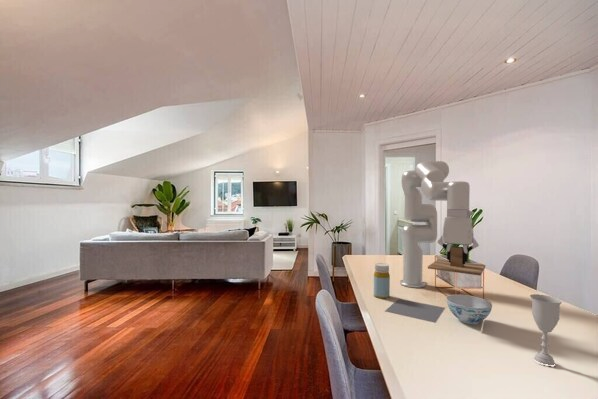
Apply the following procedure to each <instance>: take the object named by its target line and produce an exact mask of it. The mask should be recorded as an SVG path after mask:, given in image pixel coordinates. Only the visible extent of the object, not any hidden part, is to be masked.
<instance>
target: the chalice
mask: <svg viewBox="0 0 598 399" xmlns="http://www.w3.org/2000/svg"><path fill="white" fill-rule="evenodd" d="M529 297H530V299H531V300H532V302H531V303H532V304H531V305H532V306H531V307H532V308H531V315H532V318H533V320H534V322H535V324H536V326H537V328H538V330H539V331H541V332H542V336H541V339H542V343H541V344H540V345H541V346H542V350H541V351H539V352H537V353H536V354H535V355H534V357H533V359H535V360H536V361H538V362H540V363H543V364H548V365H554V364H556V363H555V360H554V358H553V356H552V355H551V354H550V353H549V352H548V348H549V344H548V341H549V337H548V333H552V332H553V331H554V329H555V327H556V326H557V325H558V322H559V320H560V308H561V307H560V305H561V304H562V303H563V301H562V299H560V298H558V297H555V296H550V295H545V294H530V295H529Z"/></svg>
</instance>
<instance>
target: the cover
mask: <svg viewBox="0 0 598 399" xmlns="http://www.w3.org/2000/svg"><path fill="white" fill-rule="evenodd" d="M463 252H464V249H463V246H458V245H457V246H455V245H452V247H451V250H450V262H449V260H445V259H436V260H435V261H433V262H432V263H430V264H429V265H427V269H429V270H435V271H436V270H437V271H444V272H451V273H459V274H465V275H472V276H478V277H479V276H482V274H483V272H484V270H485V268H486V264H481V263H480V264H479V263H471V262H466V263H465V264H463V263H462V261H463Z"/></svg>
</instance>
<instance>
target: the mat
mask: <svg viewBox="0 0 598 399" xmlns="http://www.w3.org/2000/svg"><path fill="white" fill-rule="evenodd" d="M445 309H446V307H443V306H438V305H433V304H427V303H423V302H418V301H413V300H408V299H404V298H403V299H402V298H398V299H397V300H396V301H395V302H393V303H392V304H391V305H390V306H389V307H388V308H386V309H385V310H384V312H385V313H386V312H387V313H390V314H395V315H399V316H404V317H408V318H413V319H418V320H422V321H426V322H431V323H437V321H438V319H439V318H440V317H441V315H442V313H443V311H444V310H445Z"/></svg>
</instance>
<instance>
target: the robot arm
mask: <svg viewBox="0 0 598 399" xmlns="http://www.w3.org/2000/svg"><path fill="white" fill-rule="evenodd" d="M449 174H450V168H449V165H448V163H446V162H445V161H442V160H423V161H421V162H419V163H418V164H417V165H416V167H415V170H407V171H404V172H403V174H402V176H401V187H402V191H403V194H404V218H405V220H406V221H407V222H410V223H425V224H406V225H404V226H403V227H402V229H401V237H402V244H403V245H402V246H403V247H402V249H403V251H402V252H403V258H402V259H403V261H402V263H403V265H402V279H401V280H400V281H399V284H400V286H401V285H402V286H404V287H408V288H416V289H417V288H418V289H419V288H424V287H426V282H424V281H423V261H424V260H423V258H424V257H423V255H424V254H423V250H422V248H421V247H420V245H419V244H433V243H435V242H436V241H437V244H439V245H440V246H441V247H442V248H444V250H445V251H446V259H447V261H449V262H450V250H451V247H452V246H453V245H457V246H458V245H459V246H462V247H463V249H464V252H463V261H462V263H463V264H465V263H468V255H469V254H468V253H470V252H471V251H472V250H474V249H476V248H478V247H479V246H480V245H479V243H478V242H477V240H476V238H475V237H474V226H473V224H474V223H473V219H472V218H471V217H470V216H474V215H475V213H474V211H471V210H470V194H471V193H470V190H471V188H470V183H469V182H467V181H463V180H462V181H459V180H458V181H445V180H446V179H447V177H448V176H449ZM419 188H421V191H420V190H419ZM421 192H422V193H421ZM422 194H423V195H424V196H425V197H426V198H427V199H428V200H430V201H433V202H434V201H436V202H437V201H441V202H442V201H444V202H445V201H446V217H444V219H443V220H444V222H443V227H442V235H441V236H440V238H439V239H438V240H437V238H438V211H437V208H436V206H434V205H433V204H432V203H431V204H430V203H429V204H428V203H423V200H422V199H423V197H422V196H423V195H422ZM469 245H470V246H469Z"/></svg>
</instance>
